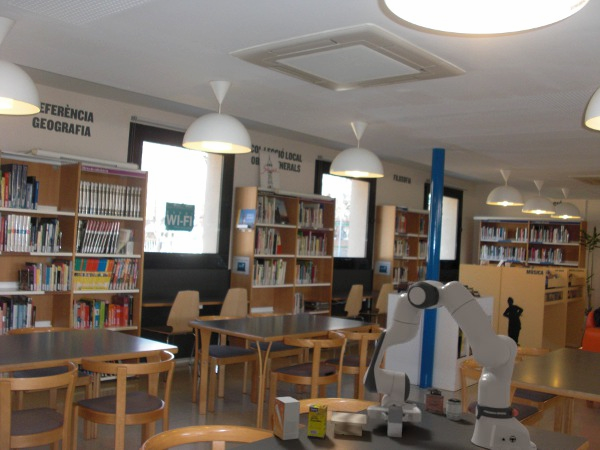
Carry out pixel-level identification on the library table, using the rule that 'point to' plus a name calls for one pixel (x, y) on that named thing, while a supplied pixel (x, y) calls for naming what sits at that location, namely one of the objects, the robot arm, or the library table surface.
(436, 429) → the library table surface
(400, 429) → the block
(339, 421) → the birch stand
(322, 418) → the supplement box
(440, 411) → the lighter
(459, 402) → the camera lens
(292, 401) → the small box
